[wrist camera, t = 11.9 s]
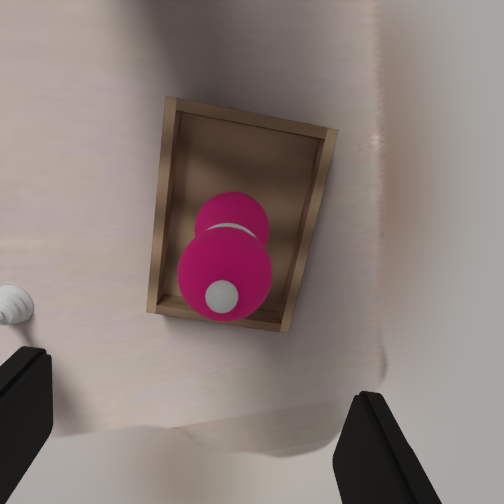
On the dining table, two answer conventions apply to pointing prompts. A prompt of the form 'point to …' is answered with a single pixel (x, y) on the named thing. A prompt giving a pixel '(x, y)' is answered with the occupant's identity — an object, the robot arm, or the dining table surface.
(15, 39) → the dining table surface
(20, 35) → the dining table surface
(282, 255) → the serving tray
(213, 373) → the dining table surface
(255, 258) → the pepper mill
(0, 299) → the chalice
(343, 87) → the dining table surface
